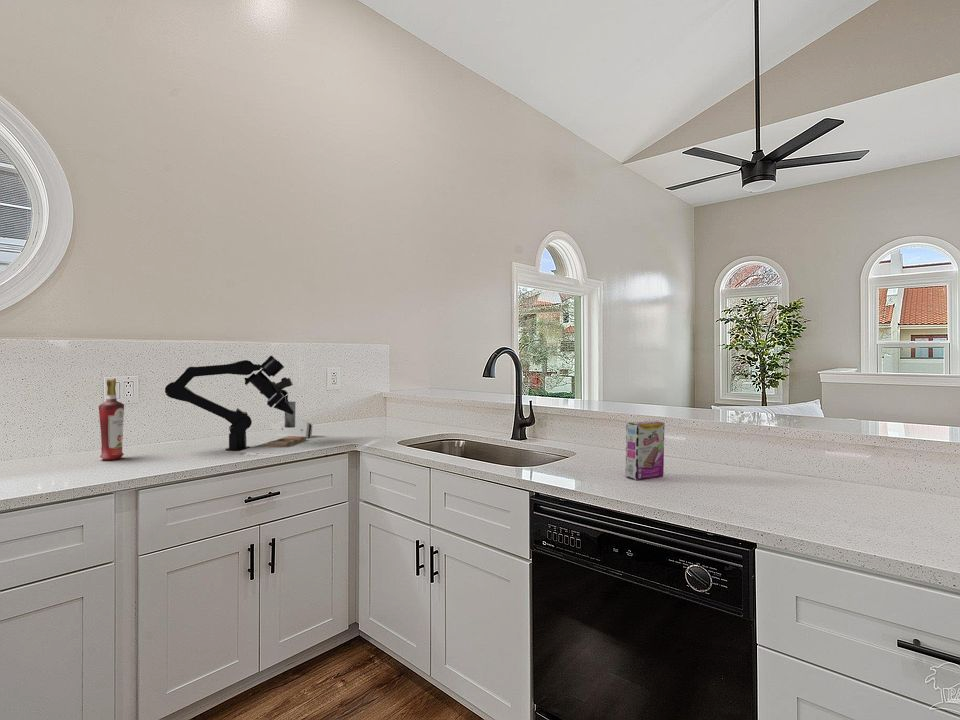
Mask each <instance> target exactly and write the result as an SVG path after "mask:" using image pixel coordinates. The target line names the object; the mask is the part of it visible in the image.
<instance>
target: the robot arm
mask: <svg viewBox="0 0 960 720" xmlns="http://www.w3.org/2000/svg"><path fill="white" fill-rule="evenodd" d="M284 368H285V366H284V365H283V364H282V363H281V362H280V361H279V360H277V359H276V358H275V357H274V356H273V355H270V356H269V357H267V359H266V360H265V361H264V362H262V363H261V364H260V363H257V364H255V363H253V362H252V361H250V360H248V359H244V360H239V361H235V362H231V363H227V364H216V365H215V364H214V365H201V366H189V367H187V368H186V369H185V371H184V372H183V373H182V374H181V375H180V376H179V377H178V378H177V379H176V380H175V381H172V382H169V383H168V384H167V385H166V386H165V388H164V393H165V395H166V396H167V397H168V398H170V399H174V400H178V401H182V402H187V403H190V404H191V405H194V406H196V407H199V408H200V409H202V410H205V411H206V412H207V411H208V412H209V413H211V414H214V415H216V416H218V417H220V418H222V419H225V420H226V421H227V422H228V423H230V424H231V425H230V426H229V427H228V428H229V429H228V430H229V434H228V447H227V448H225V449H224V450H225V451H242V450H247V449H250V447H251V446H247V430H248V429H250V427H252V424H253V423H252V422H253V420H252V418H251V416H250V415H249V413H248V412H247V411H243V410H241V409H240V408H238V407H237V408H236V410H233V409H229V408H227V407H225V406H223V405H222V404H221V405H220V404H219V403H216V402H214V401H212V400H210V399H208V398H206V397H203V396H201V395H199V394H197V393H195V392H194V391H192V390H191V389H189V388H188V387H187V385H188V384H189V383H190V381H192V379H193V378H195V377H196V378H197V377H204V376H205V377H206V376H217V375H219V376H220V375H226V374H227V375H236V376H237V375H238V376H239V375H240V376H248V375H250V376H248V377H244V385H245V386H248V384H251V385H252V386H254V387H255V388H256V389H257V390H258V391H259V393H260V395H262V396H264V397H265V398H266V399H267V401H266V402H267V403H266V404H267V405H268V407H270V408H273V409H276V410H279V411H282V412H284V413H285V412H287V413H289V414H293V413H294V412H293V410H292V409H291V407H290V406H289V405H288V403H287V402H288V401H289V392H288V391H287V390H286V389H285V388H288V387H291V386H294V384H293V381H292V379H291V378H290V377H288V378H287V377H286V376H285V377H282V378H281V380H280V381H279V382H277V383H276V382H275V381H272V380H271V379H270V378H269V377H272V378H274V377H275V376H276V375H277V374H278V373H280V371H282V370H283V369H284ZM257 371H258V372H257ZM253 372H257V373H253ZM264 373H265V374H266V375H265V374H264ZM267 376H268V377H267Z"/></svg>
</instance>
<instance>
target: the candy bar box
mask: <svg viewBox="0 0 960 720" xmlns="http://www.w3.org/2000/svg"><path fill="white" fill-rule="evenodd" d="M625 439H626V441H625V442H626V443H625V478H627V479H631V480H634V481H642V480H647V479H648V480H649V479H654V478H661V477H662V478H663V477H664V469H665V464H664V463H665V461H664V459H665V422H662V421H657V420H648V421H632V422H631V421H630V422H626V436H625Z"/></svg>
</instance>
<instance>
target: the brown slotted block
mask: <svg viewBox="0 0 960 720" xmlns="http://www.w3.org/2000/svg"><path fill="white" fill-rule="evenodd" d="M306 441H307V439H306V437H303V436H287V437H284V438H280V439H277V440H270V441H268V442H266V446H267V447H268V448H269V447H270V448H271V447H272V448H274V447H275V448H288V447H291V446H294V445H297V444H300V443H303V442H306Z"/></svg>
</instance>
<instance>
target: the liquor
mask: <svg viewBox="0 0 960 720" xmlns="http://www.w3.org/2000/svg"><path fill="white" fill-rule="evenodd" d="M116 386H117V379H116V378H108V379H106V388H107V390H106V400H105V401H104V402H102V403H100V404H99V405H98V414H99V415H98V418H99V419H98V420H99V430H100V445H101V446H100V448H101V451H100V452H101V454H100V456H99V457H100V458H101V459H103V460H104V461H116V459H117V460H119V459H121V458H122V457H123V456H124V455H125V454H124V453H123V438H124V419H125V417H124V416H125V404H124V403H122V402H120V401H117V400H118V399H117V392H116Z"/></svg>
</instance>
